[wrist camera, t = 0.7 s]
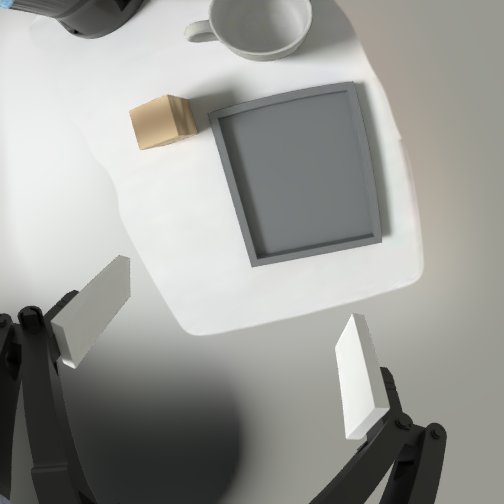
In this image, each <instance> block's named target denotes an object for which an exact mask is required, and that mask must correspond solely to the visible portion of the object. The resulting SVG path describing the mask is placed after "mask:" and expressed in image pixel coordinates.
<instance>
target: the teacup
mask: <svg viewBox="0 0 504 504" xmlns="http://www.w3.org/2000/svg"><path fill="white" fill-rule="evenodd" d="M312 18H313V9H312V4H311V2H310V0H212V1H211V4H210V9H209V20H205V21H198V22H195V23H192V24H190V25H189V26H187V27H186V29H185V31H184V34H185V37H186V39H187V40H188V41H190V42H208V41H215V40H220V41H221V42H222V43H223V44H224V45H226V46H227V47H228V48H229V49H230V50H231V51H232V52H234V53H235V54H237V55H239V56H241V57H243V58H246V59H249V60H253V61H262V62H263V61H273V60H278V59H281V58H283V57H285V56H287V55H289V54H291V53H292V52H294V51H295V50H296V49H297V48H298V47H299V46H300V45H301V43H302V42H303V40H304V38H305V36H306V34H307V33H308V31H309V29H310V26H311V24H312Z"/></svg>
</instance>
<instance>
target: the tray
mask: <svg viewBox="0 0 504 504" xmlns="http://www.w3.org/2000/svg"><path fill="white" fill-rule="evenodd" d="M208 116H209V120H210V123H211V127H212V130H213V134H214V137H215V141H216V144H217V148H218V151H219V155H220V158H221V162H222V165H223V169H224V172H225V176H226V179H227V183H228V186H229V190H230V193H231V197H232V200H233V204H234V207H235V211H236V214H237V218H238V221H239V225H240V228H241V232H242V235H243V238H244V242H245V245H246V249H247V252H248V256H249V259H250V263H251V266H252V267H257V266H262V265H267V264H273V263H278V262H284V261H289V260H294V259H300V258H305V257H310V256H315V255H321V254H326V253H331V252H336V251H341V250H346V249H351V248H356V247H362V246H367V245H372V244H377V243H382V235H381V225H380V216H379V208H378V200H377V193H376V186H375V179H374V173H373V167H372V161H371V156H370V151H369V145H368V140H367V136H366V131H365V126H364V122H363V118H362V113H361V109H360V105H359V101H358V97H357V93H356V90H355V86H354V82H353V81H352V82H344V83H337V84H330V85H324V86H318V87H312V88H307V89H302V90H296V91H291V92H287V93H282V94H278V95H273V96H269V97H265V98H261V99H257V100H253V101H249V102H245V103H241V104H238V105H234V106H231V107H227V108H224V109H221V110H217V111H214V112H211V113H208Z"/></svg>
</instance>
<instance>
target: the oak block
mask: <svg viewBox="0 0 504 504" xmlns="http://www.w3.org/2000/svg"><path fill="white" fill-rule="evenodd" d="M129 113H130V116H131V120H132V124H133V127H134V131H135V135H136V138H137V142H138V145H139V149H140V150H144V149H149V148H154V147H160V146H165V145H167V144H170V143H173V142H176V141H179V140H182V139H184V138H187V137H190V136H193V135H196V134H197V130H196V127H195V123H194V120H193V116H192V112H191V109H190V105H189V102H188V99H184V98H180V97H176V96H172V95H164V96H162V97H159V98H157V99H155V100H152V101H150V102H148V103H146V104H143V105H141V106H139V107H137V108H135V109H132V110H130V111H129Z"/></svg>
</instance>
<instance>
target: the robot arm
mask: <svg viewBox="0 0 504 504" xmlns="http://www.w3.org/2000/svg"><path fill="white" fill-rule="evenodd" d="M142 2H143V0H0V6H1V7H3V8H4V9H14V10H19V11H25V12H30V13H35V14H39V15H44V16H48V17H52V18H55V19H56V20H57V21H58V22H59V23H60V24H61V25H62V26H63V27H64V28H65V29H66V30H67V31H68V32H70V33H71V34H73V35H75V36H78V37H81V38H85V39H94V38H99V37H102V36H105V35H107V34H109V33H111V32H113V31H114V30H116V29H117V28H119V27H120V26H121V25H123V24H124V23H125V22H126V21H127V20H128V19H129V18H130V17H131V16H132V15H133V14H134V13H135V12H136V10H137V9H138V8H139V6H140V5H141V3H142ZM129 297H130V258H128V257H124V256H121V255H119V256H118V257H116V258H115V259H114V260H113V261H112V262H111V263H110V264H109V265H108V266H106V267H105V268H104V269H103V270H102V271H101V272H100V273H99V274H98V275H97V276H96V277H95V278H94V279H92V280H91V281H90V282H89V284H87V285H86V286H85V287H84V288H83V289H82V290H81V291H80V292H78V291H76V290H73V291H71V292H69V293H67V294H66V295H65V296H64V297H63V298H61V300H60V301H59V302H57V303H56V305H54V307H52V308H51V309H50V310H49V311H48V312H47V313H46V314H45V315H44V316H43V315H42V311H41V309H40V308H39V307H36V306H27V307H25V308H23V309H21V310H20V312H19V313H18V319H19V322H20V324H16V323H13V322H12V319H11V316H9V315H8V314H5V313H4V314H0V504H11V503H10V502H9V499H10V491H11V463H12V444H13V433H14V424H15V415H16V409H17V402H18V396H19V390H20V385H21V380H22V384H23V398H24V409H25V417H26V425H27V431H28V437H29V443H30V448H31V453H32V458H33V463H34V467H33V468H32V469H31V475H32V480H33V484H34V487H35V491H36V494H37V497H38V501H39V504H98V502H97V500H96V498H95V496H94V494H93V492H92V490H91V488H90V487H89V485H88V483H87V480H86V477H85V474H84V472H83V469H82V466H81V463H80V460H79V456H78V453H77V450H76V447H75V443H74V439H73V436H72V432H71V428H70V424H69V420H68V416H67V412H66V406H65V401H64V397H63V391H62V385H61V379H60V373H59V365H58V362H57V359H58V358H59V357H60V355H61V357H62V360H63V363H65V364H67V365H69V366H71V367H73V368H76V367H77V365H78V364H79V363H80V362H81V360H82V359H83V357H84V356H85V355H86V353H87V352H88V351H89V349H90V348H91V347H92V345H93V344H94V343H95V341H96V339H97V338H98V337H99V336H100V335H101V333H102V332H103V331H104V329H105V328H106V327H107V325H108V324H109V323H110V322H111V320H112V319H113V318H114V316H115V315H116V314H117V313H118V311H119V310H120V309H121V307H122V306H123V305H124V304H125V302H126V301H127V300H128V299H129ZM335 350H336V357H337V364H338V370H339V379H340V387H341V395H342V403H343V412H344V421H345V431H346V439H361V438H362V437H363V436H364V435H365V434H367V441H366V442H365V443H364V444H363V445H362V446H360V447H359V448H358V449H357V450H358V451H357V453H356V454H355V455H354V456H353V457H352V458H351V460H350V461H349V462H348V463H347V464H346V465H345V466H344V468H343V469H342V470H341V471H340V472H339V473H338V474H337V476H336V477H335V478H334V479H333V480H332V481H331V482H330V483H329V484H328V485H327V486H326V487H325V488H324V489H323V490H322V491H321V492H320V493H319V494H318V495H317V496H316V497H315V498H314V499H313V500H312V501H311V502H310V503H309V504H364V503H365V502H366V500H367V499H368V498H369V496H370V495H371V494H372V492H373V491H374V490H375V488H376V487H377V485H378V484H379V482H380V481H381V480H382V478H383V477H384V476H385V474H386V473H387V471H388V470H389V468H390V466H391V465H392V464H393V462H394V465H393V468H392V471H391V474H390V476H389V479H388V482H387V485H386V487H385V490H384V493H383V495H382V498H381V500H380V503H379V504H434V502H435V498H436V494H437V490H438V486H439V480H440V476H441V471H442V465H443V459H444V453H445V446H446V439H447V435H446V431H445V429H444V428H443V427H442V426H441V425H440V424H438V423H431V424H430V425H428V426H427V427H426V428H424V427H421V426H418V425H415V424H413V421H412V419H411V418H410V417H409V416H408V415H407V414H405V413H403V412H402V408H401V404H400V401H399V397H398V393H397V391H396V386H395V384H394V380H393V376H392V374H391V373H390V372H389V370H388V369H387V368H385V367H379V363H378V360H377V356H376V353H375V349H374V346H373V343H372V339H371V336H370V333H369V329H368V326H367V323H366V320H365V317H364V315H359V314H354V313H353V314H352V315H351V317H350V319H349V321H348V323H347V325H346V327H345V329H344V331H343V333H342V335H341V337H340V339H339V341H338V343H337V345H336V346H335ZM394 460H395V461H394Z"/></svg>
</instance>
